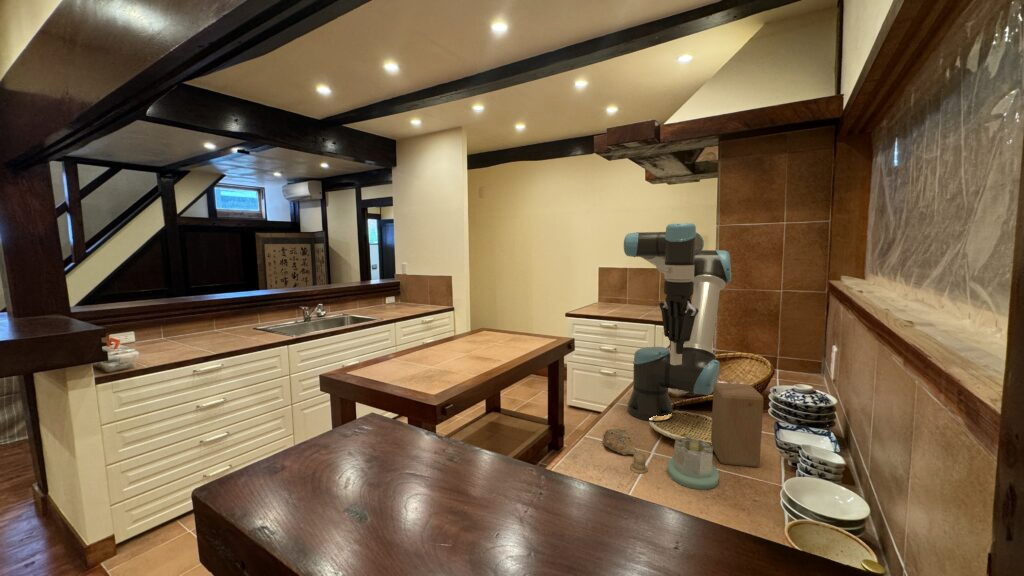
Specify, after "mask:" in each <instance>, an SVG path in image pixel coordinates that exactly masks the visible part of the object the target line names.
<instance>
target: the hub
mask: <svg viewBox="0 0 1024 576" xmlns="http://www.w3.org/2000/svg"><path fill="white" fill-rule="evenodd" d="M691 451H693V450H691ZM695 452H696V451H695ZM719 474H720V473H719V471H718V469H717V467H715V466H714V465H713V464H712V476H711V477H706V478H702V479H697V478H693V477H689V476H685V475H683V474H681V473H680V472H679V471H678V470H676V469H675V468H674V456H673V457H671V458H669V460H668V461H667V475H668V476H669V477H670V478H671V480H673V481H674V482H676V483H677V484H679V485H681V486H683V487H686V488H689V489H693V490H699V491H701V490H703V491H704V490H705V491H706V490H712V489H713V488H716V486H718V484H719Z"/></svg>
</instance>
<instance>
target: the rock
mask: <svg viewBox="0 0 1024 576" xmlns="http://www.w3.org/2000/svg"><path fill="white" fill-rule="evenodd" d="M602 442H603V445H604V447H606V448H607V449H610V450H612V451H613V452H617V453H618V454H620V455H623V456H627V455H634V453H635V452H637V450H636V449H635V445H634V443H633V440H632V437H631V435H630V434H629V432H628V430H627V429H620V428H612V429H607V430H605V433H604V434H603V438H602Z"/></svg>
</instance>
